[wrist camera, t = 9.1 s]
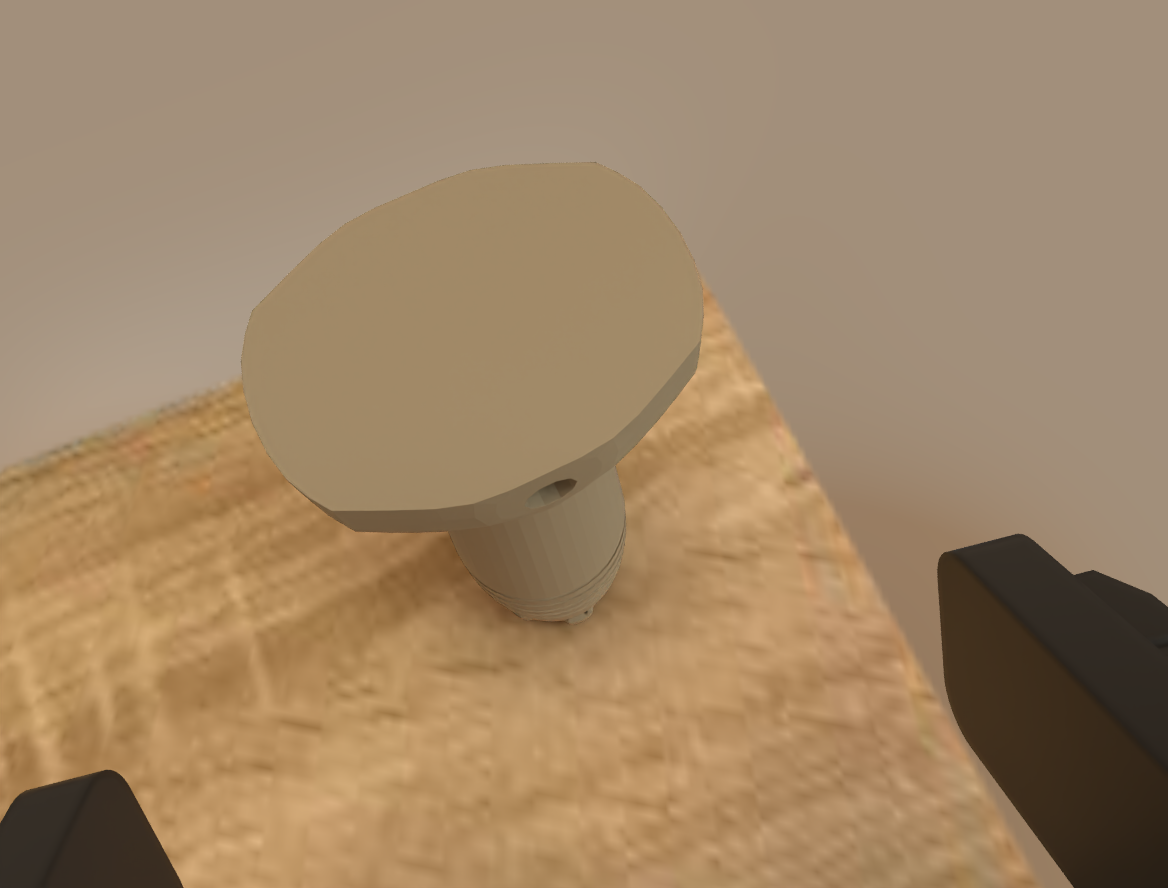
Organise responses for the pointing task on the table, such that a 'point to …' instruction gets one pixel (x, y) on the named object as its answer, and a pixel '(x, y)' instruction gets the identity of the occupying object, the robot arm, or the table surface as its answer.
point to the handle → (483, 370)
